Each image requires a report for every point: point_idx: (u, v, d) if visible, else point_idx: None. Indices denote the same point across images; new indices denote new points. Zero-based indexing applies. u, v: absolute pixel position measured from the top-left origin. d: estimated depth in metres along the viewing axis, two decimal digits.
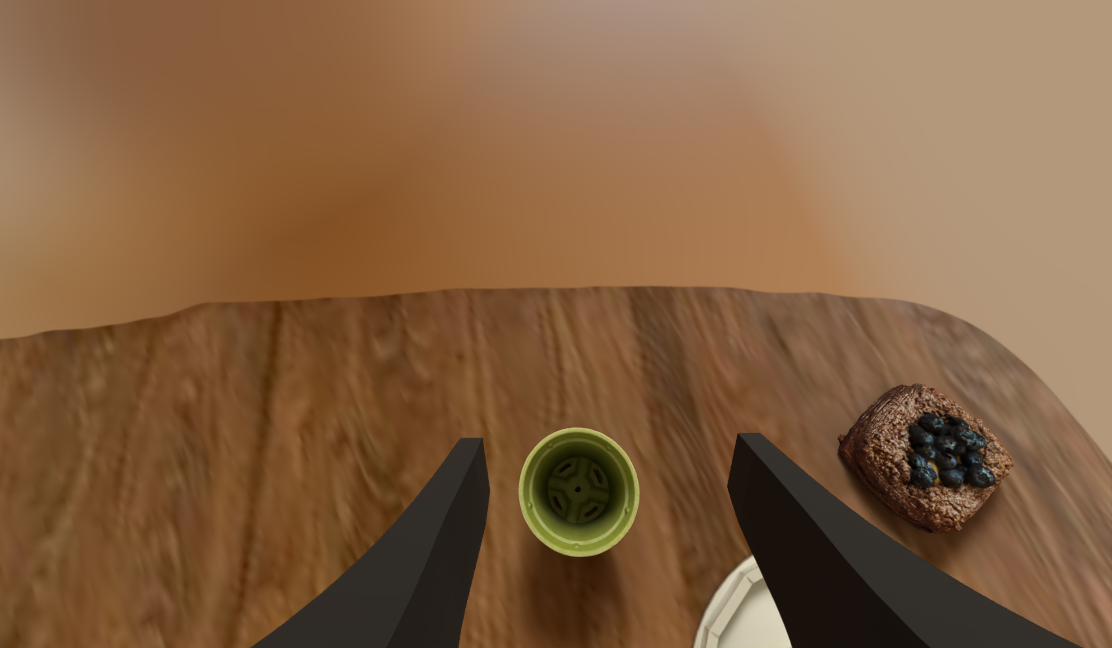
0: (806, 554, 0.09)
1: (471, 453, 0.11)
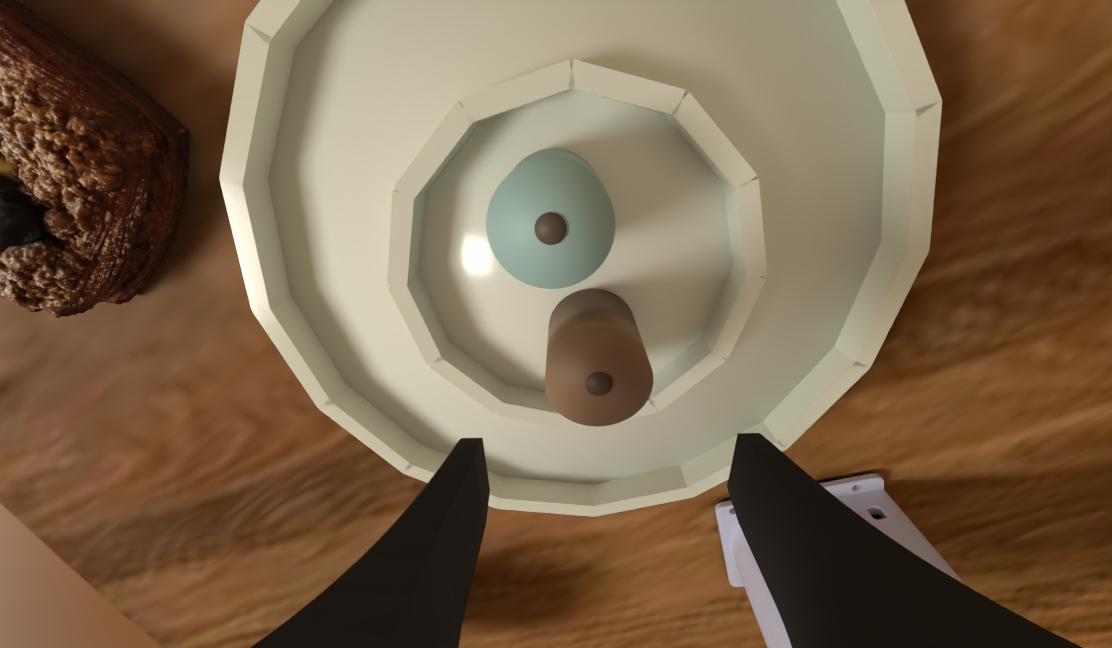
0: (806, 554, 0.09)
1: (471, 453, 0.11)
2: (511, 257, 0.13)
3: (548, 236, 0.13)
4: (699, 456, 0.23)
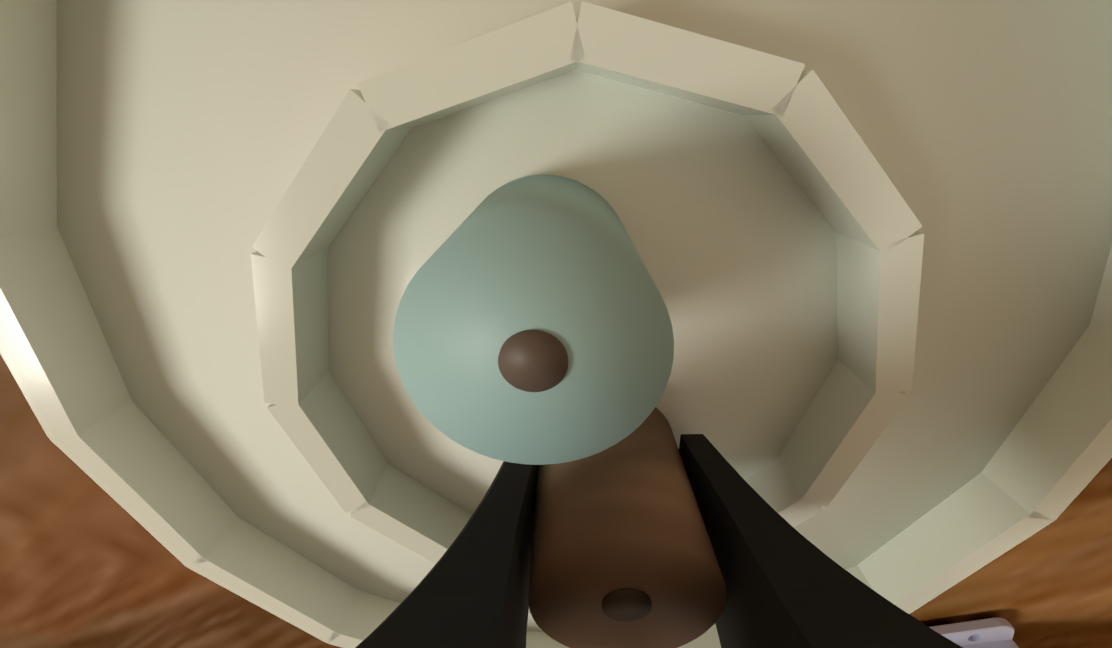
0: (730, 555, 0.09)
1: None
2: (454, 411, 0.07)
3: (529, 373, 0.06)
4: None
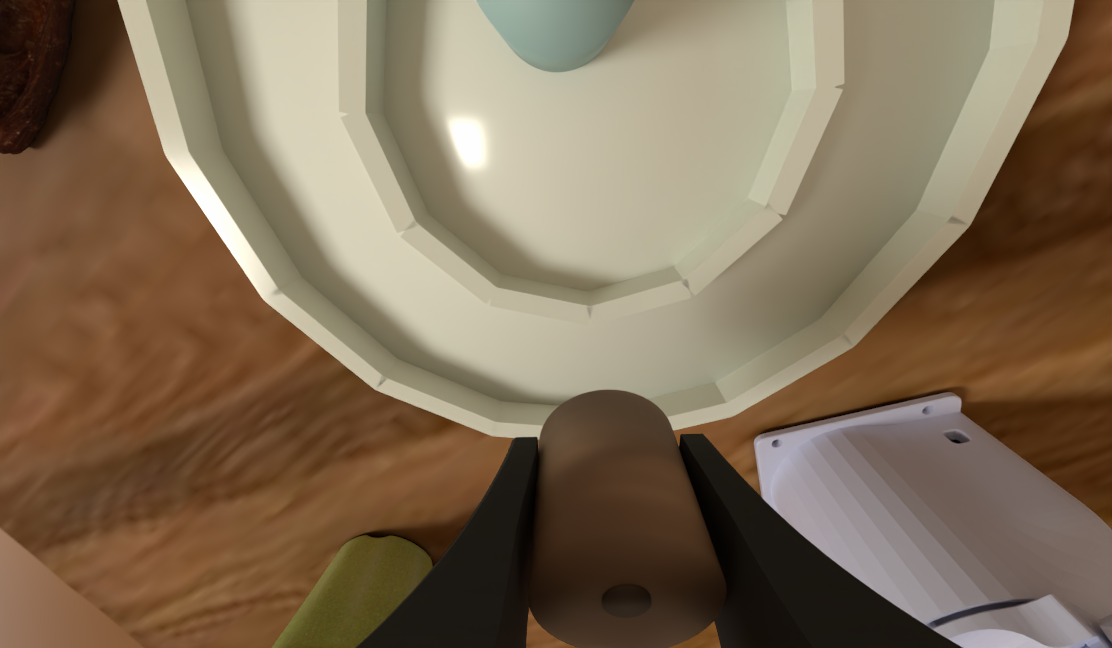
0: (730, 555, 0.09)
1: (530, 452, 0.11)
2: None
3: None
4: (739, 368, 0.19)
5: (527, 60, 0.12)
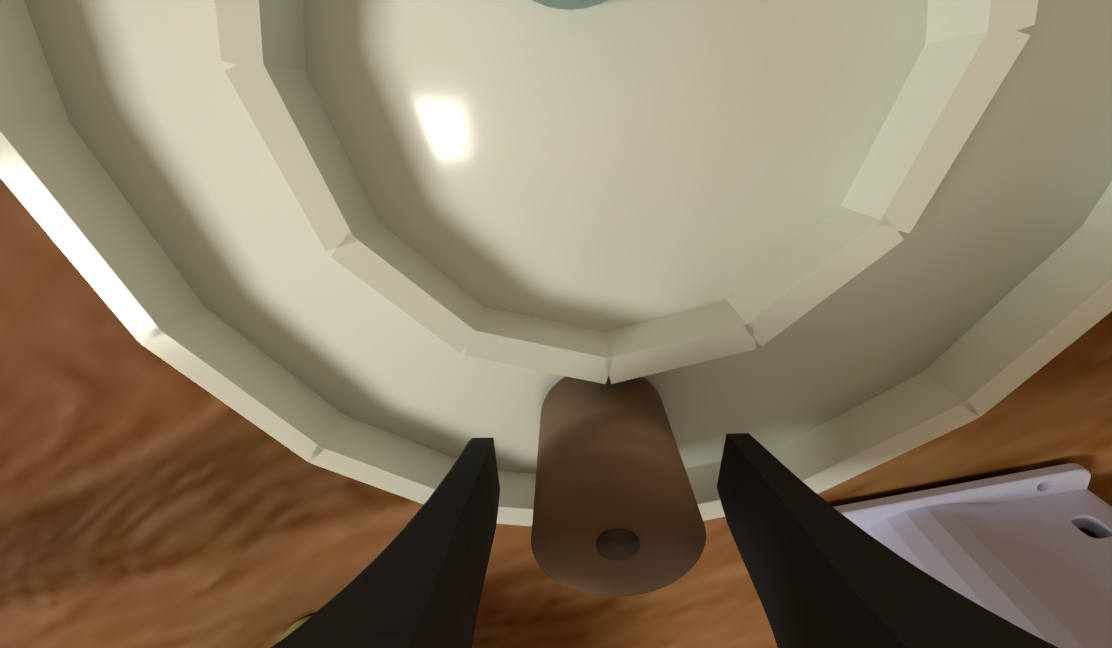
0: (791, 554, 0.09)
1: (483, 453, 0.11)
2: None
3: None
4: (805, 434, 0.14)
5: None
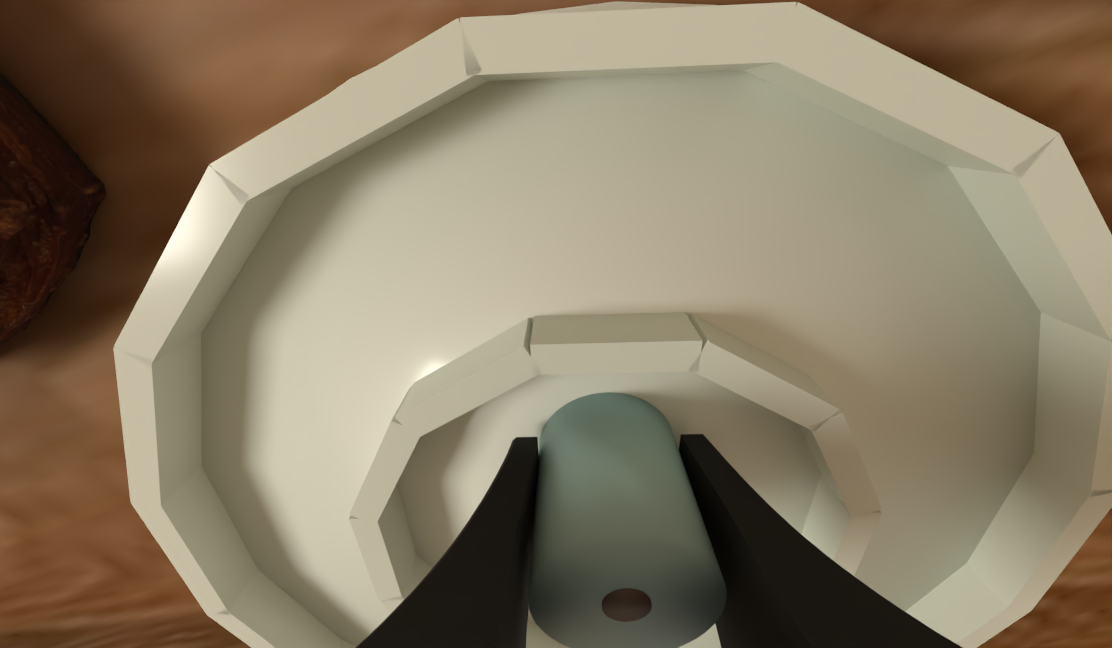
0: (730, 555, 0.09)
1: (530, 452, 0.11)
2: (555, 619, 0.09)
3: (619, 608, 0.09)
4: None
5: None
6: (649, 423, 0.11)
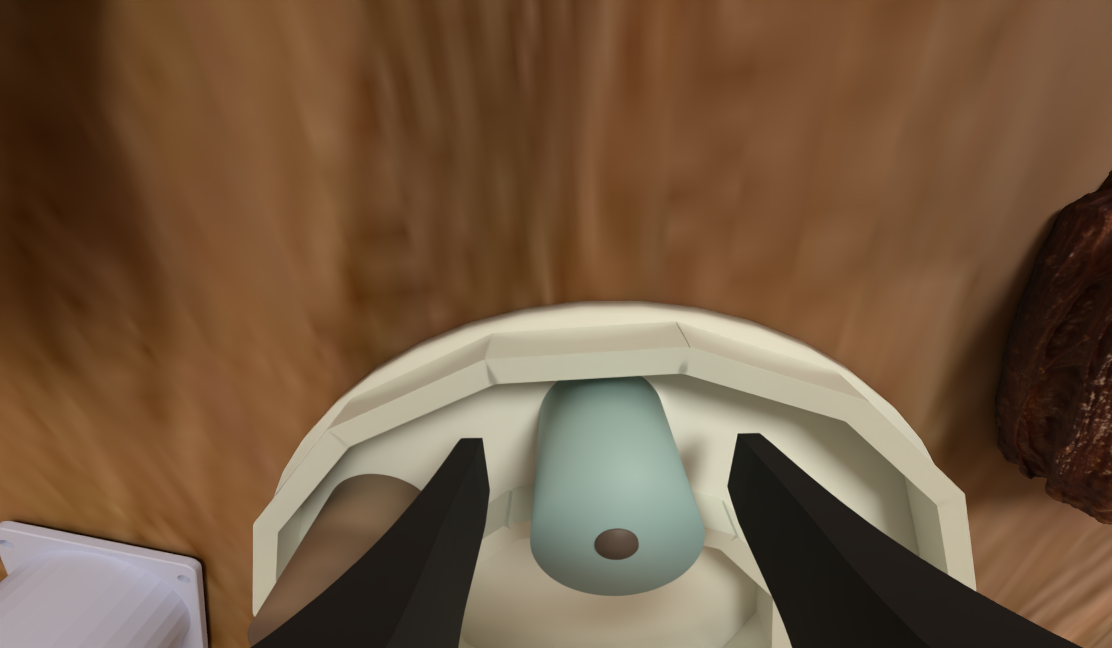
0: (806, 554, 0.09)
1: (471, 453, 0.11)
2: (553, 558, 0.10)
3: (610, 548, 0.10)
4: None
5: None
6: (639, 391, 0.12)
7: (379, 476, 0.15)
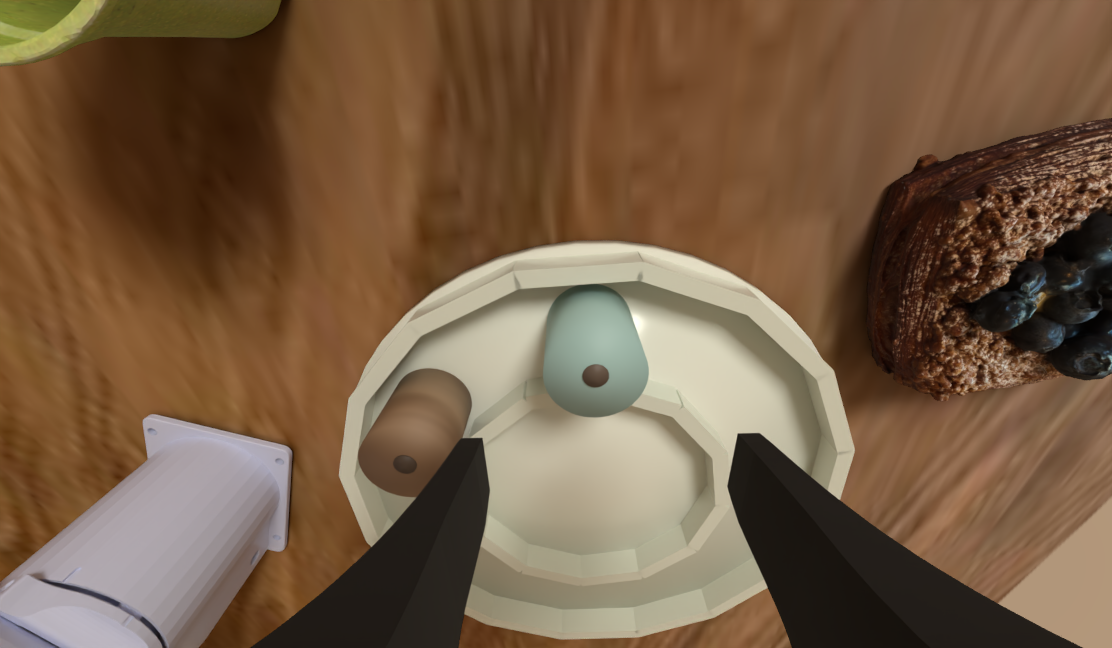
0: (806, 554, 0.09)
1: (471, 453, 0.11)
2: (557, 387, 0.16)
3: (592, 379, 0.16)
4: None
5: None
6: (613, 297, 0.18)
7: (433, 369, 0.21)
